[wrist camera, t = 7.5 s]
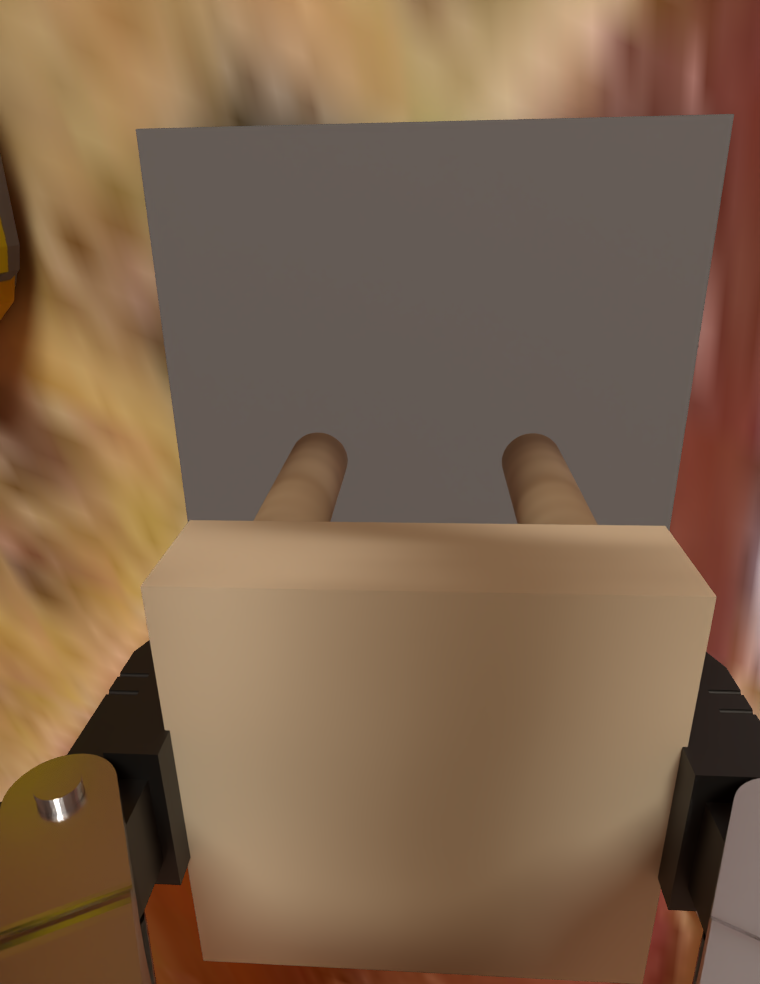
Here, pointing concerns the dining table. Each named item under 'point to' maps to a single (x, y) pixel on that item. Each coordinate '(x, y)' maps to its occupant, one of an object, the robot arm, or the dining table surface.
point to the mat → (434, 305)
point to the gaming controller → (7, 247)
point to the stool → (428, 727)
